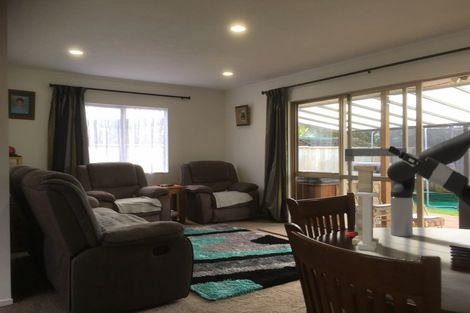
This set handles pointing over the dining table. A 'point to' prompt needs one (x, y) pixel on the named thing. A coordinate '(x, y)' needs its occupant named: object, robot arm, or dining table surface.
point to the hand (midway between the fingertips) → (390, 148)
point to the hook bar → (369, 152)
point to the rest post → (366, 221)
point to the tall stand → (363, 186)
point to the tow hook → (355, 233)
